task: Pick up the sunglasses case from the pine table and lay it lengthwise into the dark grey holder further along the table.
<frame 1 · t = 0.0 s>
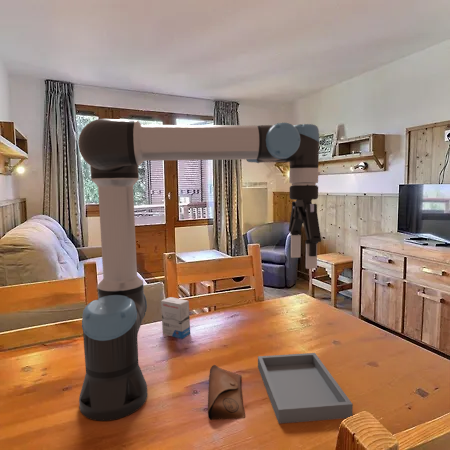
hand: (302, 262, 98), 28 cm above the table, fingers open, 13 cm apart
ink box: (176, 334, 119), on the table
holder: (299, 389, 86), on the table
sunglasses case: (226, 397, 85), on the table
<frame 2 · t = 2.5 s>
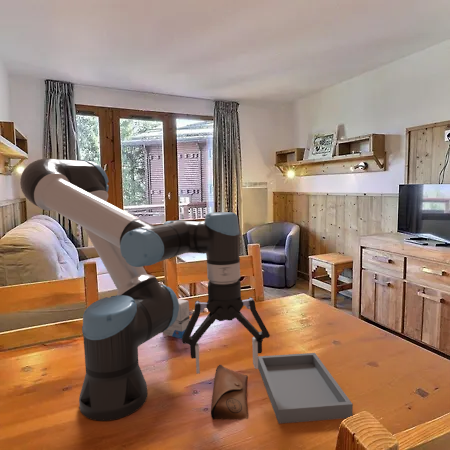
hand: (226, 368, 84), 7 cm above the table, fingers open, 13 cm apart
sunglasses case: (230, 397, 85), on the table
everything else where it was.
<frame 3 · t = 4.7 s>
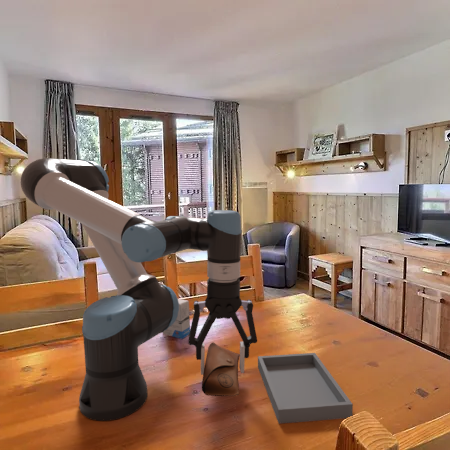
hand: (222, 370, 84), 6 cm above the table, fingers closed on sunglasses case, 9 cm apart
sunglasses case: (222, 374, 84), point 5 cm above the table, touching gripper
everything else where it was.
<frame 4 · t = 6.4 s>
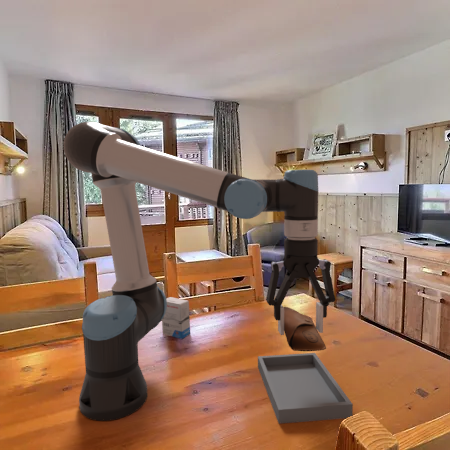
hand: (300, 331, 85), 15 cm above the table, fingers closed on sunglasses case, 9 cm apart
sunglasses case: (300, 334, 84), point 14 cm above the table, touching gripper
everything else where it was.
when the fingers open (1 cm above the table, at t = 8.3 s): sunglasses case stays where it is, resting on holder.
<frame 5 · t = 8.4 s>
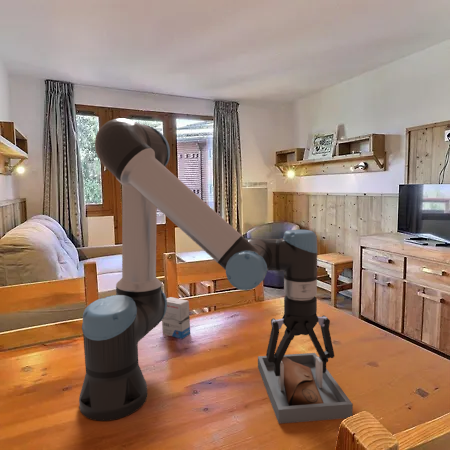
hand: (299, 386, 86), 1 cm above the table, fingers open, 9 cm apart
sunglasses case: (300, 388, 86), resting on holder
everything else where it was.
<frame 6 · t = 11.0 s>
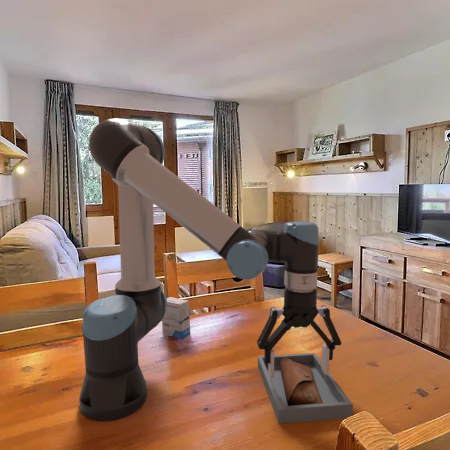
hand: (298, 373, 86), 4 cm above the table, fingers open, 13 cm apart
nothing on the table moved.
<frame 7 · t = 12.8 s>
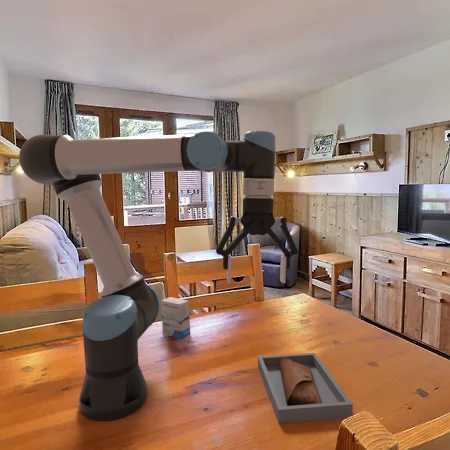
hand: (255, 281, 89), 25 cm above the table, fingers open, 13 cm apart
nothing on the table moved.
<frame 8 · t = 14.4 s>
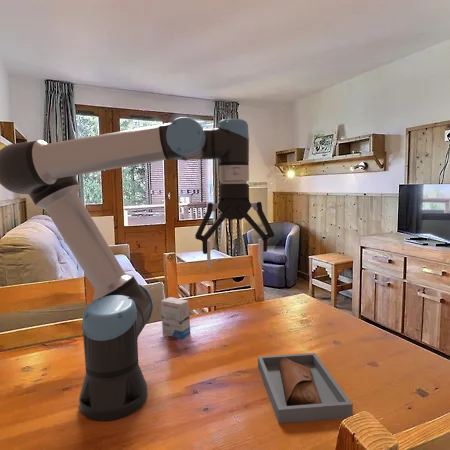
hand: (235, 265, 92), 29 cm above the table, fingers open, 13 cm apart
nothing on the table moved.
at the end: sunglasses case inside the target area on the holder (0.4 cm from its centre), point 0.4 cm above the holder's base; sunglasses case touching holder; the gripper is holding nothing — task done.
